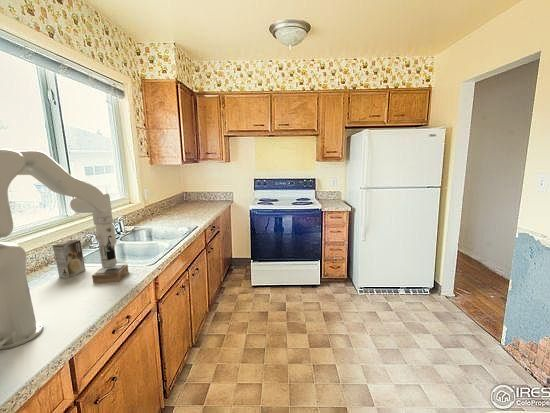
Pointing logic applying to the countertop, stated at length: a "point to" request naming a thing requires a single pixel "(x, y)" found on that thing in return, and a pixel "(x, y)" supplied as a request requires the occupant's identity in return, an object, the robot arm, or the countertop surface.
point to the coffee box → (69, 258)
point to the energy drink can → (103, 255)
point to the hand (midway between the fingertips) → (108, 257)
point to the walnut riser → (110, 274)
